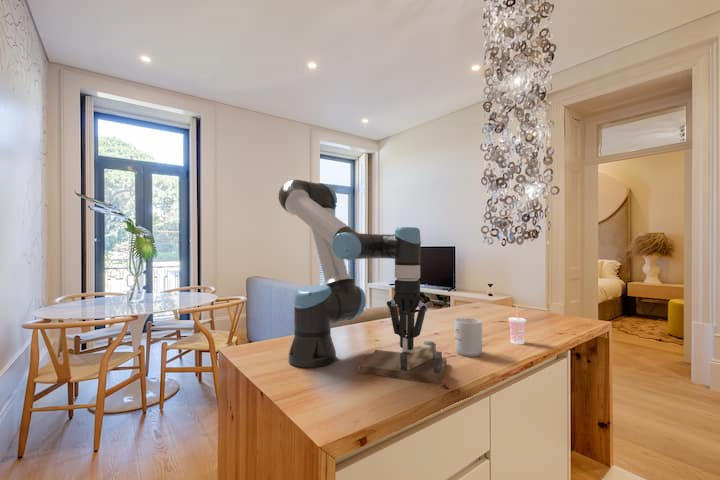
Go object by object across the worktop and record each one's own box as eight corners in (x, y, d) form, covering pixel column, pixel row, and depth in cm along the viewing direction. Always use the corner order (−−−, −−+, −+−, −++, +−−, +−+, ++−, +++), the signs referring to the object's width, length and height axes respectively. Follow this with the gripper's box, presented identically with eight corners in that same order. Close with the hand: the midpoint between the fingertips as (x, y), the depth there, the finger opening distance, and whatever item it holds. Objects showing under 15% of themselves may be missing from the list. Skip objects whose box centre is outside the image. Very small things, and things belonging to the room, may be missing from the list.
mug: (488, 355, 111) (487, 322, 111) (466, 358, 108) (465, 324, 108) (465, 345, 122) (465, 315, 123) (444, 348, 119) (444, 317, 119)
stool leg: (427, 354, 105) (427, 340, 105) (436, 356, 103) (436, 342, 103) (398, 368, 93) (398, 352, 93) (407, 370, 91) (407, 354, 91)
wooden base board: (359, 372, 96) (359, 351, 96) (375, 355, 111) (375, 337, 111) (440, 383, 88) (440, 360, 88) (446, 364, 103) (446, 344, 103)
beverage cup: (518, 339, 130) (517, 304, 131) (530, 344, 124) (529, 306, 125) (505, 340, 129) (504, 304, 129) (516, 345, 123) (516, 307, 123)
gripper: (432, 279, 97) (432, 360, 97) (394, 277, 105) (393, 352, 104) (422, 281, 91) (421, 368, 91) (382, 278, 98) (381, 358, 98)
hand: (406, 359), depth 97 cm, fingers closed
